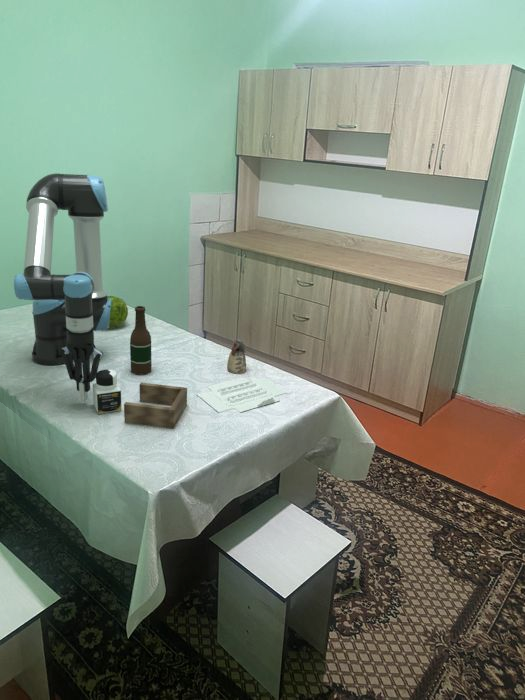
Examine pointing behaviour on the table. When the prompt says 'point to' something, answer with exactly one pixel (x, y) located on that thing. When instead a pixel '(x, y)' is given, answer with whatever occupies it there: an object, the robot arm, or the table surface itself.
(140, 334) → the beer bottle
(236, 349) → the figurine
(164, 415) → the box
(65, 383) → the table surface
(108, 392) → the medicine bottle
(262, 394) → the tray
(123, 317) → the lettuce
